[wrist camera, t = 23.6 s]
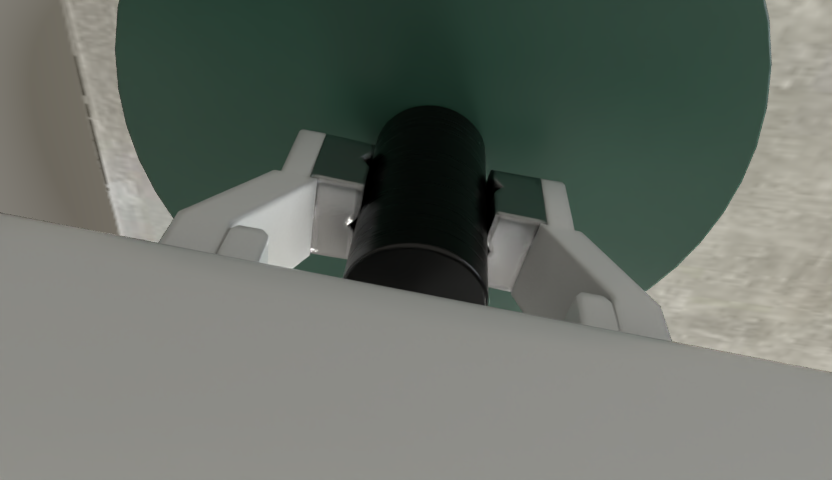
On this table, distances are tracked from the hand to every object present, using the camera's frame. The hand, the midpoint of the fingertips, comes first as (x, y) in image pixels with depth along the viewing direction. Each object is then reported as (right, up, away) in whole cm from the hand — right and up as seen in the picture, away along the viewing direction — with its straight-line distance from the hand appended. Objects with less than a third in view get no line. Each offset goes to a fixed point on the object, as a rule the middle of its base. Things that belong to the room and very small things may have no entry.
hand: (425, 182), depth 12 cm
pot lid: (0, +1, +1) cm, 2 cm away
